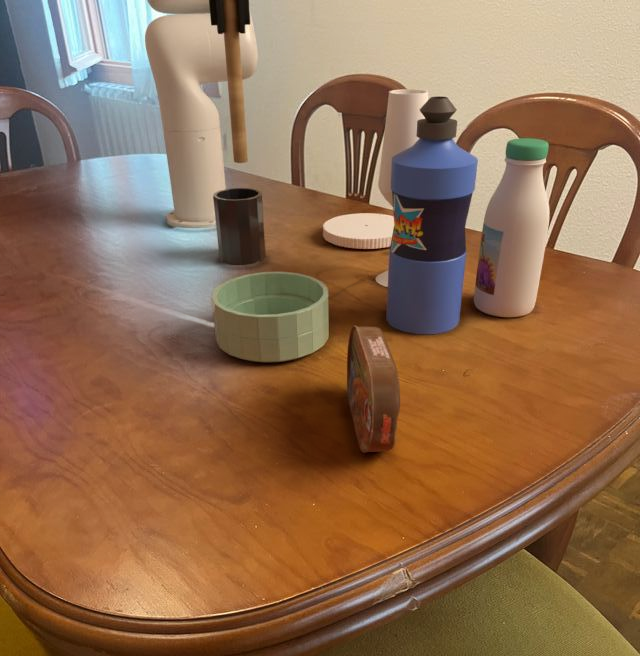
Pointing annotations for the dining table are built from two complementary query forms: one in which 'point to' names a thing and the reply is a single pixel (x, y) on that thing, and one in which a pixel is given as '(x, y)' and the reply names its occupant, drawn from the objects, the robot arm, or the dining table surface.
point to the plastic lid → (360, 230)
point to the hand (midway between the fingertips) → (231, 31)
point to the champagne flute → (398, 138)
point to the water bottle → (429, 225)
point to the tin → (372, 389)
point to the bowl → (271, 316)
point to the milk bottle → (514, 234)
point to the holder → (240, 225)
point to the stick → (235, 80)
